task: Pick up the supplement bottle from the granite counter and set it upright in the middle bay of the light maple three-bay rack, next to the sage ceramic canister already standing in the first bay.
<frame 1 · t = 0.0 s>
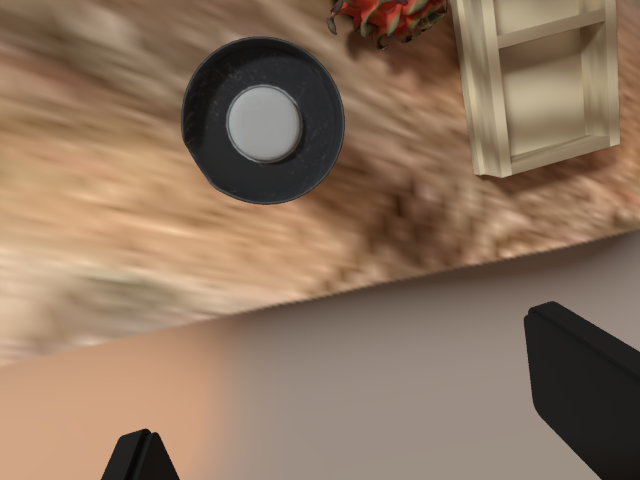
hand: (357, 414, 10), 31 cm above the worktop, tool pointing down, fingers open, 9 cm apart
travel mug: (260, 124, 38), on the worktop
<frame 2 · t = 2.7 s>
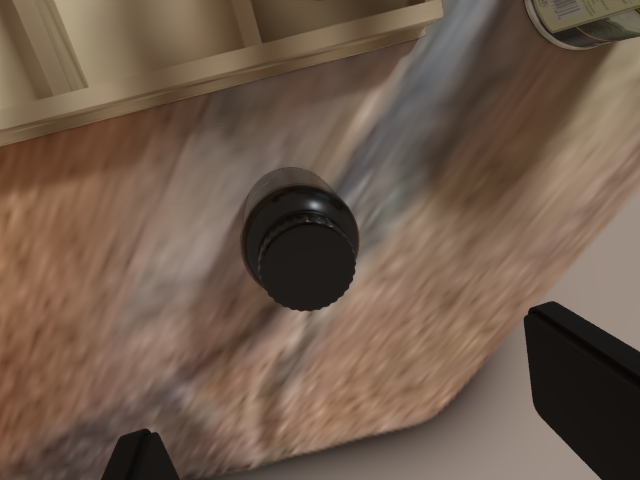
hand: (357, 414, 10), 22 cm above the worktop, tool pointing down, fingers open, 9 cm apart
supplement bottle: (290, 211, 31), on the worktop
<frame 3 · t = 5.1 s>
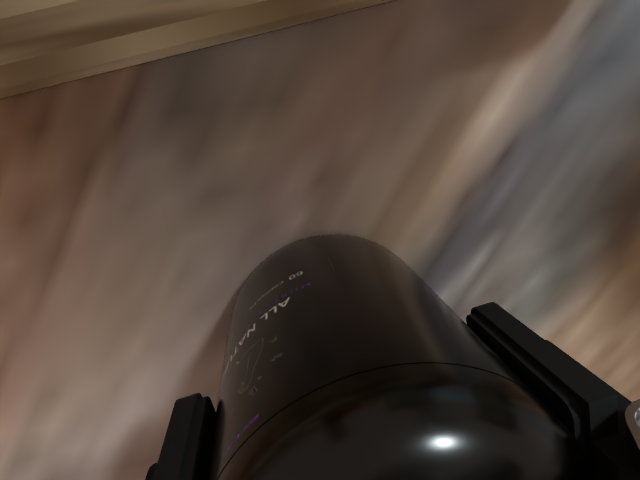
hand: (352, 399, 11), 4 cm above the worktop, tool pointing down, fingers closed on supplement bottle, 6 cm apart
supplement bottle: (325, 320, 15), on the worktop, touching gripper
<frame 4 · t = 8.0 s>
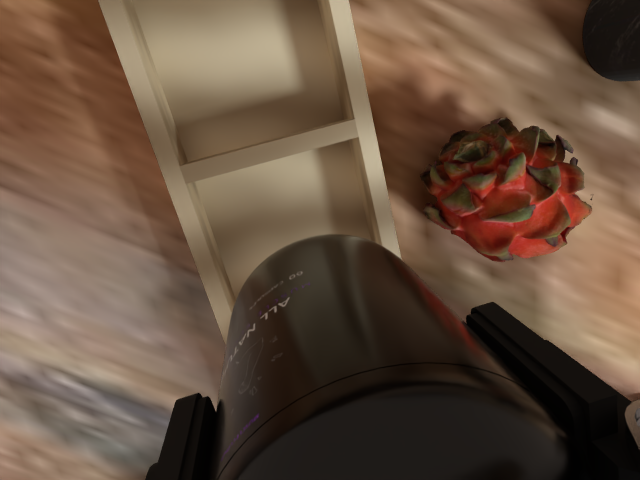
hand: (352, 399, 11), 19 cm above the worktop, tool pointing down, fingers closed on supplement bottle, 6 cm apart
supplement bottle: (325, 320, 15), point 14 cm above the worktop, touching gripper
travel mug: (626, 27, 29), on the worktop
rack: (291, 225, 29), on the worktop
dragon fruit: (479, 185, 30), on the worktop
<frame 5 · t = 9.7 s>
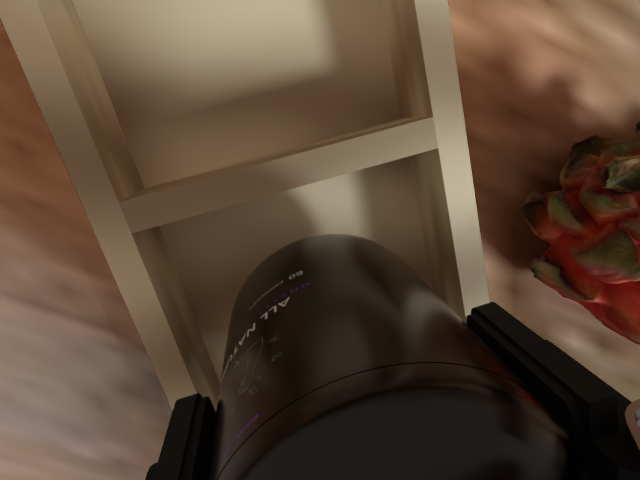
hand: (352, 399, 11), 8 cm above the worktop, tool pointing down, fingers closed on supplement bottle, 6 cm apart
supplement bottle: (325, 320, 15), point 4 cm above the worktop, touching gripper
rack: (311, 282, 18), on the worktop
dragon fruit: (593, 217, 20), on the worktop
when the fingers open (7 cm above the worktop, at t = 10.9 s): supplement bottle drops 2 cm, resting on rack.
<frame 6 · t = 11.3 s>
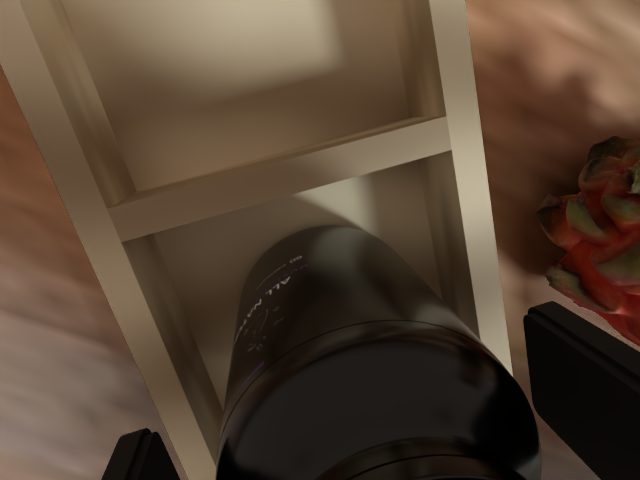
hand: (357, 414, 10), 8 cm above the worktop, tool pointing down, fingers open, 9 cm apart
supplement bottle: (324, 303, 17), point 1 cm above the worktop, touching rack
rack: (314, 291, 18), on the worktop
dragon fruit: (609, 221, 19), on the worktop
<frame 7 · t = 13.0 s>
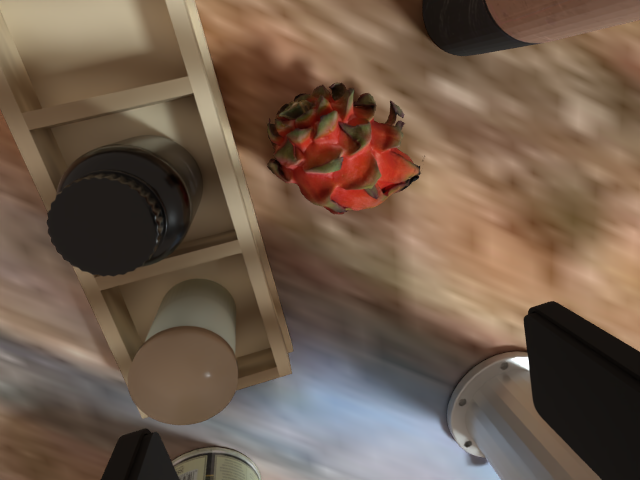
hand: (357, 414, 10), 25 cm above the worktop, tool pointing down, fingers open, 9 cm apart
supplement bottle: (155, 182, 30), point 1 cm above the worktop, touching rack
canister: (198, 312, 33), point 1 cm above the worktop, touching rack
travel mug: (464, 6, 31), on the worktop
rack: (154, 179, 31), on the worktop
dragon fruit: (334, 148, 33), on the worktop
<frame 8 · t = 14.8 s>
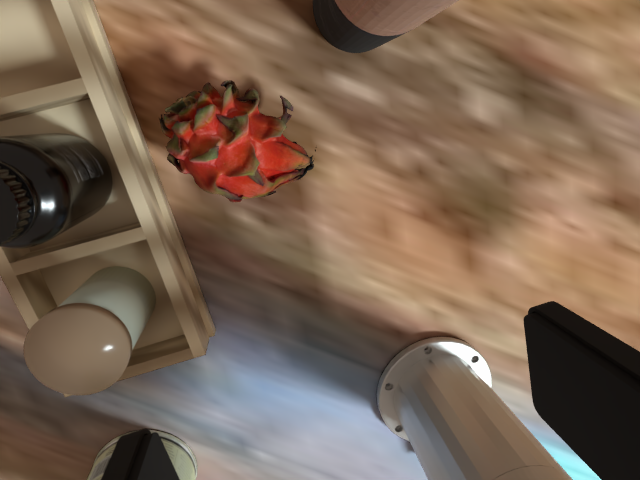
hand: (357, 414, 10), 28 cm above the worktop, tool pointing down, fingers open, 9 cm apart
supplement bottle: (70, 177, 33), point 1 cm above the worktop, touching rack
canister: (119, 298, 36), point 1 cm above the worktop, touching rack
travel mug: (354, 6, 34), on the worktop
rack: (71, 174, 34), on the worktop
coffee can: (147, 469, 43), on the worktop
dragon fruit: (241, 142, 35), on the worktop
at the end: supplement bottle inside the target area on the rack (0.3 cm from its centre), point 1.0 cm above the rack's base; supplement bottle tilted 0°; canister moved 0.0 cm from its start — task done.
